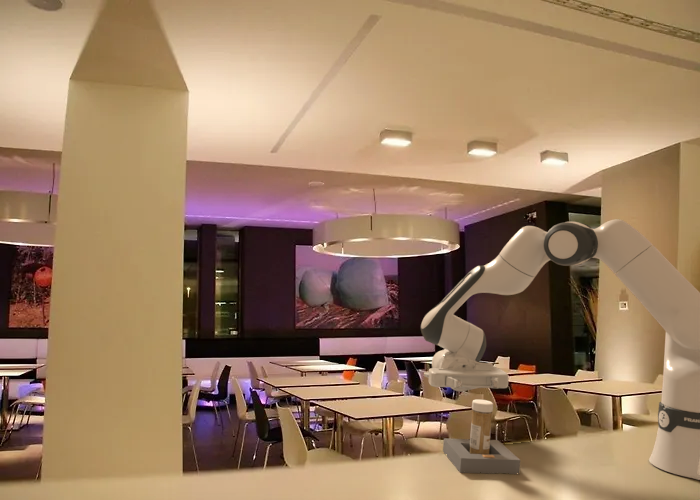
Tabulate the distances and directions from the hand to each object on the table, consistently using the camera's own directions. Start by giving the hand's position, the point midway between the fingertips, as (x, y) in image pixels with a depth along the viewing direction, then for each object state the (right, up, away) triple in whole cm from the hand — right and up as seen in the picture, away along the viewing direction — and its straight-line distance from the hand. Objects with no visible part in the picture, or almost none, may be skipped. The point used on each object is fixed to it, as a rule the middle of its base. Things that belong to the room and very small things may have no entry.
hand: (477, 384), depth 146 cm
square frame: (-2, -14, -13) cm, 19 cm away
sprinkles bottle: (-2, -14, -13) cm, 19 cm away
